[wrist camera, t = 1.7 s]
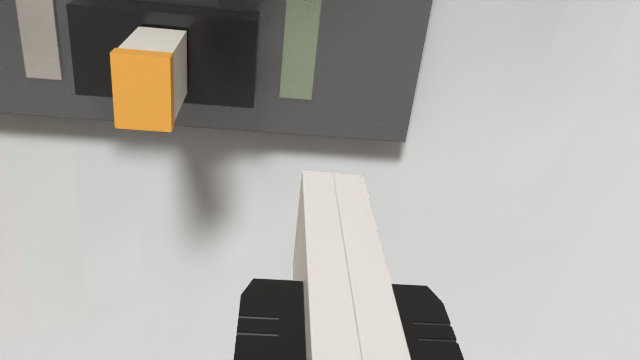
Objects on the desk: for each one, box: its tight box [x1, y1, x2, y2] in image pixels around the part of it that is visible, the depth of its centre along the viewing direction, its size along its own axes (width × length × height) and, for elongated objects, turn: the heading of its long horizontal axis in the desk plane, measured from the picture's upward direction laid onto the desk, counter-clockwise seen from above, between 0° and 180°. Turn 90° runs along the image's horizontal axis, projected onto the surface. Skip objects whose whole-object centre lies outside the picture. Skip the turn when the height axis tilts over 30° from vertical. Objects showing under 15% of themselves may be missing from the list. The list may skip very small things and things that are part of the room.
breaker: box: [110, 27, 187, 132], centre depth 22 cm, size 2×3×4 cm
